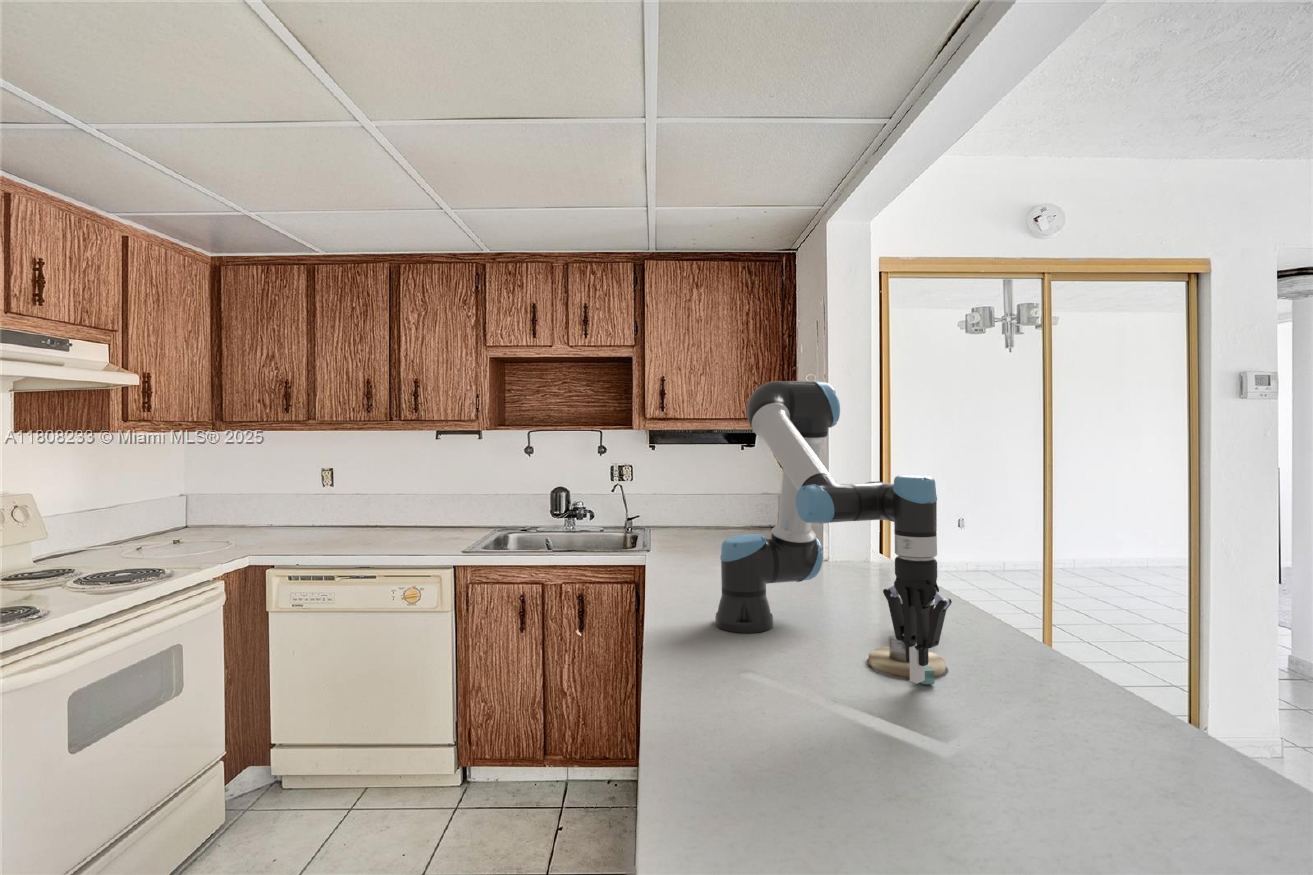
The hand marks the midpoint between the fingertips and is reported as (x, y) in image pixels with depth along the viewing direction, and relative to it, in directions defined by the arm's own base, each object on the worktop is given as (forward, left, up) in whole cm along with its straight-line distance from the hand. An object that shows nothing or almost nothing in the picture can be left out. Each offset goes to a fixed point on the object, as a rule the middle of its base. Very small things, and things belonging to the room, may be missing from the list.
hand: (917, 680), depth 124 cm
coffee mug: (-18, +30, -3) cm, 35 cm away
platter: (-7, +8, -1) cm, 11 cm away
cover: (-8, +9, 0) cm, 12 cm away
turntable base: (-8, +10, -3) cm, 13 cm away
